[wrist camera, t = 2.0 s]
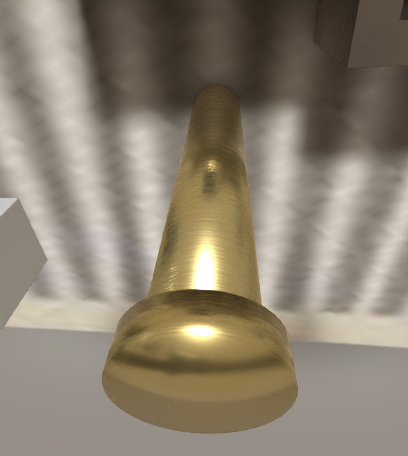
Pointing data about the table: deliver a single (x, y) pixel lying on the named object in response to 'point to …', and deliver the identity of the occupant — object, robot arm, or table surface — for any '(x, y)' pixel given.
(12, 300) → the robot arm
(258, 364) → the pin
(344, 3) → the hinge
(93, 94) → the table surface
